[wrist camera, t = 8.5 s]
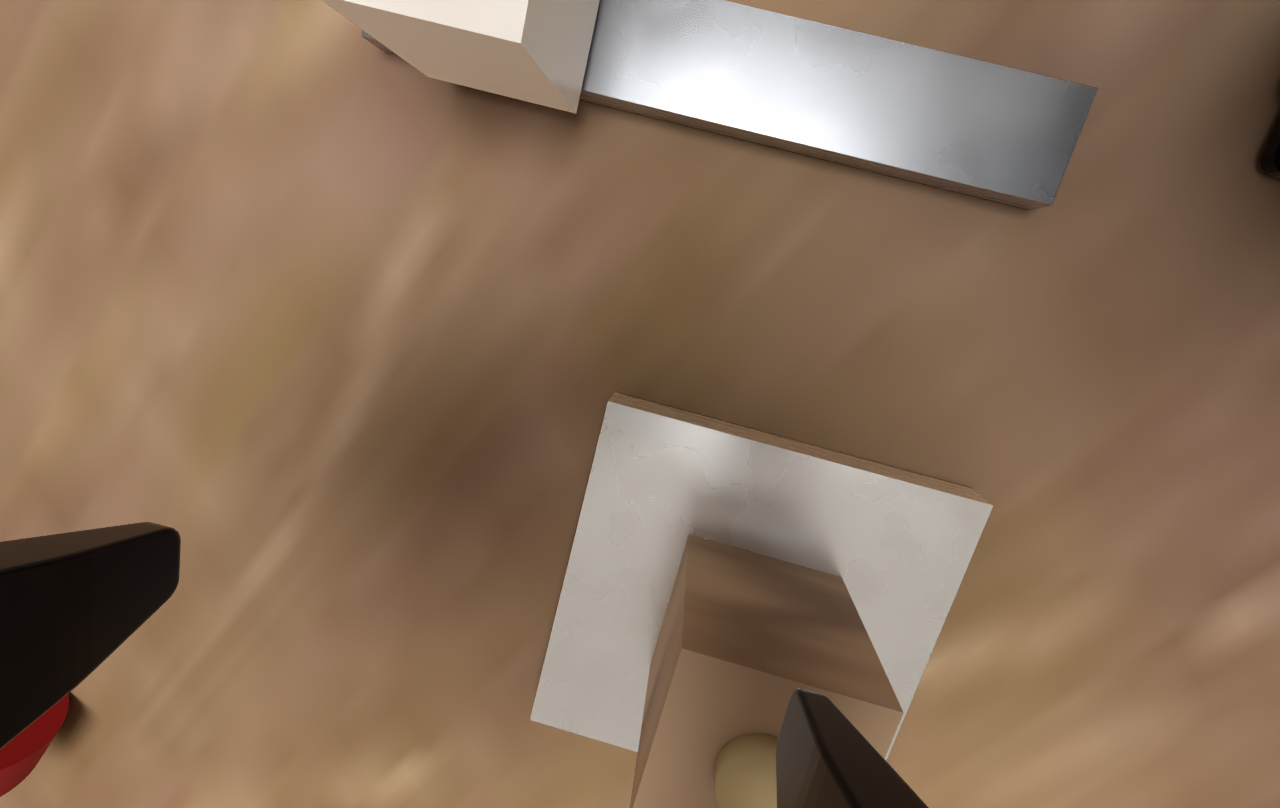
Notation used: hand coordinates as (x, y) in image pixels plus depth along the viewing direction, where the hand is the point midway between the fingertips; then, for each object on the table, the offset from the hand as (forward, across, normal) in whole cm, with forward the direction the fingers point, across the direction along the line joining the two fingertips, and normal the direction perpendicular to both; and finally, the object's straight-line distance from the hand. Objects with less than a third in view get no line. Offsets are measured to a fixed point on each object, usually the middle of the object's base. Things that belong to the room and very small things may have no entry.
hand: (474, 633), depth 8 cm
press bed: (+12, -6, +5) cm, 14 cm away
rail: (+12, -1, -11) cm, 17 cm away
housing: (+11, -6, +5) cm, 13 cm away
